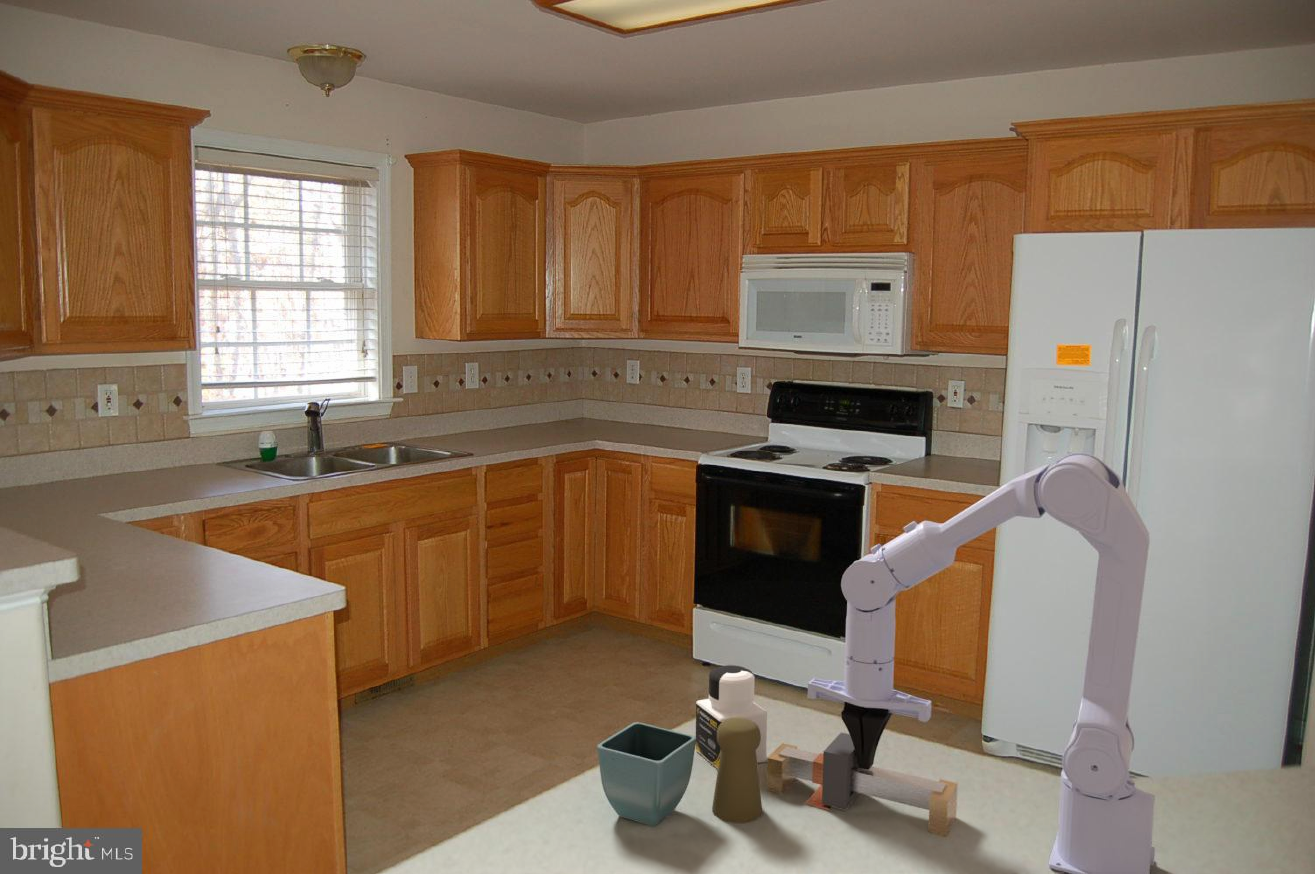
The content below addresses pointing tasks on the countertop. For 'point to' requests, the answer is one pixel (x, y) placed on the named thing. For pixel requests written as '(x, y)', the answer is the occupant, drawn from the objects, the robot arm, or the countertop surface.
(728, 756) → the brown pawn figure
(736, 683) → the medicine bottle
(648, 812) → the flower pot
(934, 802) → the rail
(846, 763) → the collar
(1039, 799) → the countertop surface
